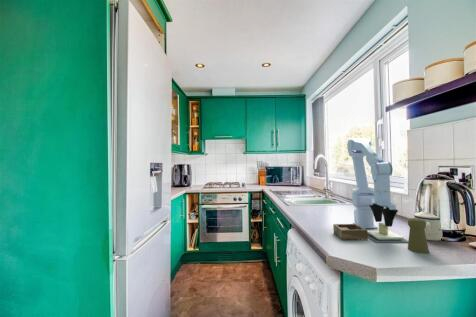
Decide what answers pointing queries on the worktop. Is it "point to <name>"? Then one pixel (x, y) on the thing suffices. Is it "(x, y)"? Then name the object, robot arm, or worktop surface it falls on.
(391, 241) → the slate mat
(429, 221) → the teacup with lid
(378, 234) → the lid
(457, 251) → the worktop surface
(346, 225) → the box
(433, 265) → the worktop surface
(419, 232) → the olive pepper mill
